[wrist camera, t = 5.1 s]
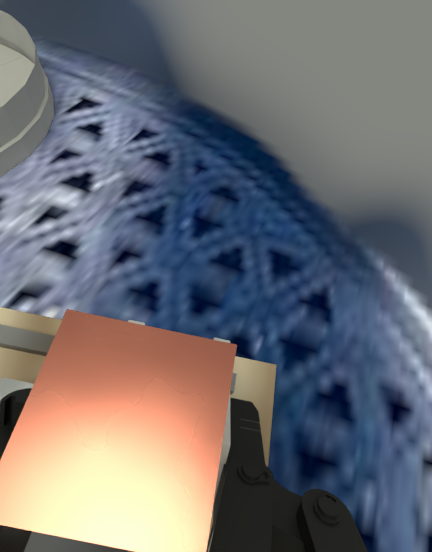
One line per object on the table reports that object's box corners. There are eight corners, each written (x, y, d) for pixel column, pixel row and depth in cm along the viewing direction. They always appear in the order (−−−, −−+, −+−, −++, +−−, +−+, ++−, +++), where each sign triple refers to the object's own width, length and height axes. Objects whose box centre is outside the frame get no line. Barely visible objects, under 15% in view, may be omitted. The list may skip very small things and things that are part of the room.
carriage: (-29, 490, 16) (-656, 558, 4) (29, 364, 19) (-219, 181, 7) (180, 532, 16) (215, 724, 4) (204, 401, 19) (265, 284, 7)
